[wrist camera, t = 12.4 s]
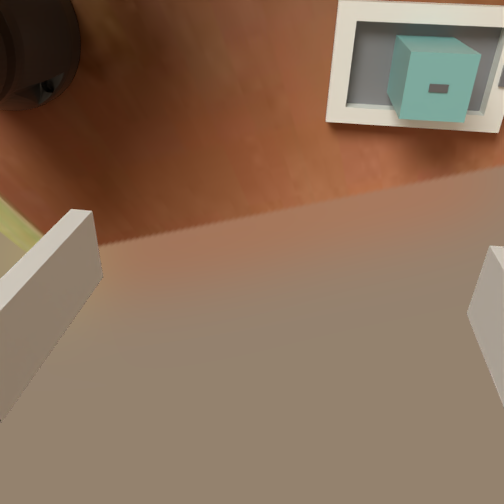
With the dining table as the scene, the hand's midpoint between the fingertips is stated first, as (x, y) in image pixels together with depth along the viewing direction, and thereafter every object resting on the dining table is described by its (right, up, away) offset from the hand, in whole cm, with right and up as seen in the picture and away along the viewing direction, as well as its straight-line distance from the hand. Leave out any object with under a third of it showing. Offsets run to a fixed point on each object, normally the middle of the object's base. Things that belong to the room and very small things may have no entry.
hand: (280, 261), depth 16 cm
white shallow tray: (+14, +17, +28) cm, 36 cm away
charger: (+14, +17, +28) cm, 36 cm away
